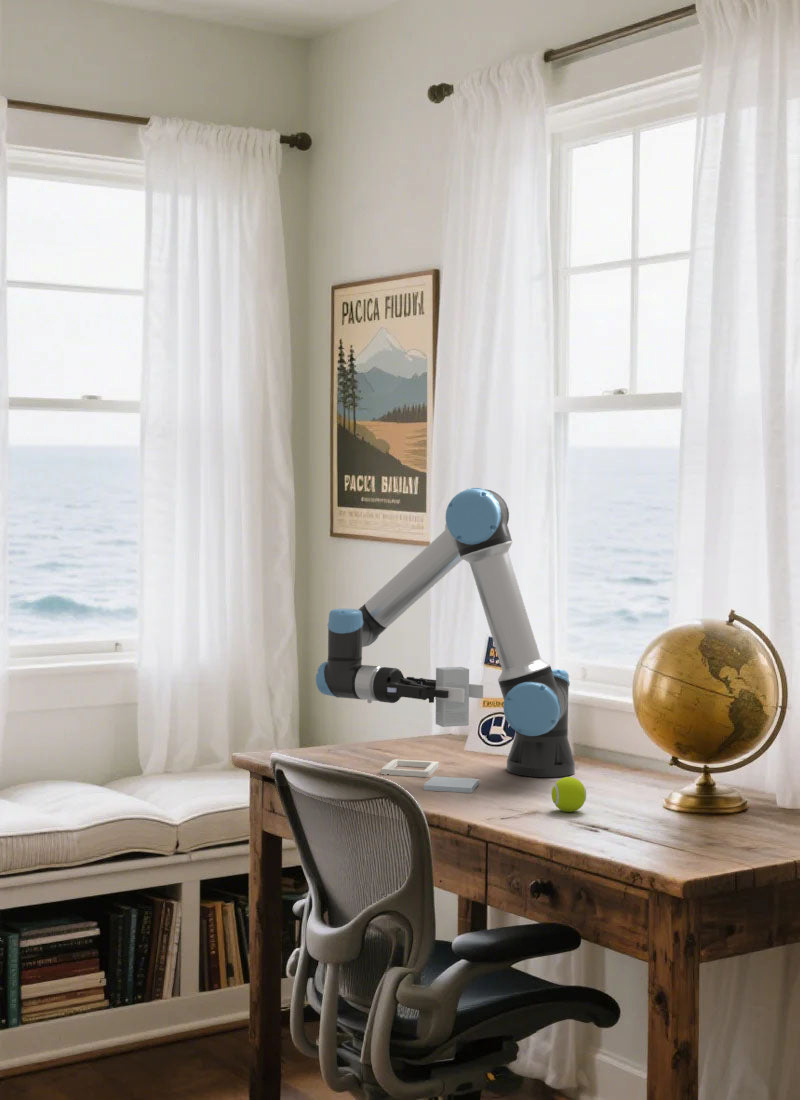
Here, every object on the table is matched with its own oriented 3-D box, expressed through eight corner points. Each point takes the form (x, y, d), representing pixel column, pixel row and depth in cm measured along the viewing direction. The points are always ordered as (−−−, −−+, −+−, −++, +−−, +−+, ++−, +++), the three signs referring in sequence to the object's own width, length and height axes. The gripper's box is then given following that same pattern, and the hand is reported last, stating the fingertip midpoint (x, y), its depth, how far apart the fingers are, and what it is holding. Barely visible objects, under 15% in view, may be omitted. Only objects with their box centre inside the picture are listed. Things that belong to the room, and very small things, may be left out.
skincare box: (460, 723, 296) (462, 666, 296) (468, 726, 292) (470, 668, 292) (434, 724, 294) (435, 667, 294) (442, 727, 290) (443, 669, 290)
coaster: (479, 783, 297) (479, 779, 297) (471, 792, 287) (471, 788, 287) (432, 780, 299) (432, 776, 299) (423, 789, 289) (423, 785, 289)
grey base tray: (438, 767, 315) (438, 761, 315) (428, 777, 303) (428, 771, 303) (393, 764, 318) (393, 759, 318) (380, 774, 305) (381, 768, 305)
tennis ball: (547, 808, 274) (547, 774, 274) (580, 807, 275) (580, 773, 275) (556, 815, 267) (557, 780, 267) (590, 815, 268) (591, 780, 268)
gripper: (405, 696, 311) (496, 706, 299) (354, 706, 294) (447, 717, 282) (406, 663, 311) (496, 671, 298) (354, 670, 294) (448, 680, 282)
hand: (472, 693), depth 290 cm, fingers closed on skincare box, 7 cm apart
